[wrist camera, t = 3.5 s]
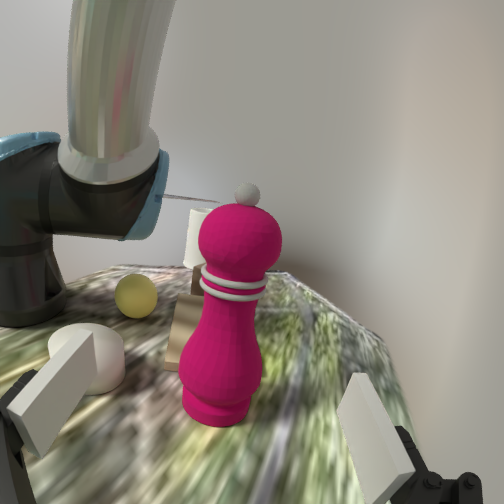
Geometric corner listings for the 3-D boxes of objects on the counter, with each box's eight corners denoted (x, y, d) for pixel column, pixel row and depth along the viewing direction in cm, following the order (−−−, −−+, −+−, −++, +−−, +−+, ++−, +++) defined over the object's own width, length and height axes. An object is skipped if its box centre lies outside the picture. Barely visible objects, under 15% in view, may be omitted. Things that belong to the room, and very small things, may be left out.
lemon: (108, 309, 38) (108, 269, 37) (145, 303, 43) (146, 265, 41) (124, 329, 34) (124, 286, 33) (164, 321, 39) (166, 281, 37)
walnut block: (190, 294, 49) (193, 266, 48) (206, 287, 54) (209, 260, 53) (215, 304, 47) (219, 275, 46) (230, 295, 52) (234, 268, 51)
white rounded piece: (47, 355, 25) (42, 328, 24) (109, 344, 31) (107, 318, 30) (65, 403, 20) (57, 375, 19) (138, 385, 26) (137, 357, 25)
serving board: (177, 300, 46) (178, 293, 46) (239, 306, 48) (240, 300, 48) (164, 370, 29) (164, 361, 29) (257, 377, 31) (259, 369, 30)
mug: (236, 265, 69) (245, 214, 67) (236, 277, 61) (245, 219, 58) (186, 257, 69) (193, 206, 66) (179, 268, 60) (186, 210, 57)
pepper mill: (162, 411, 23) (178, 173, 18) (197, 372, 30) (222, 177, 25) (238, 442, 21) (291, 192, 16) (261, 394, 28) (306, 192, 23)
